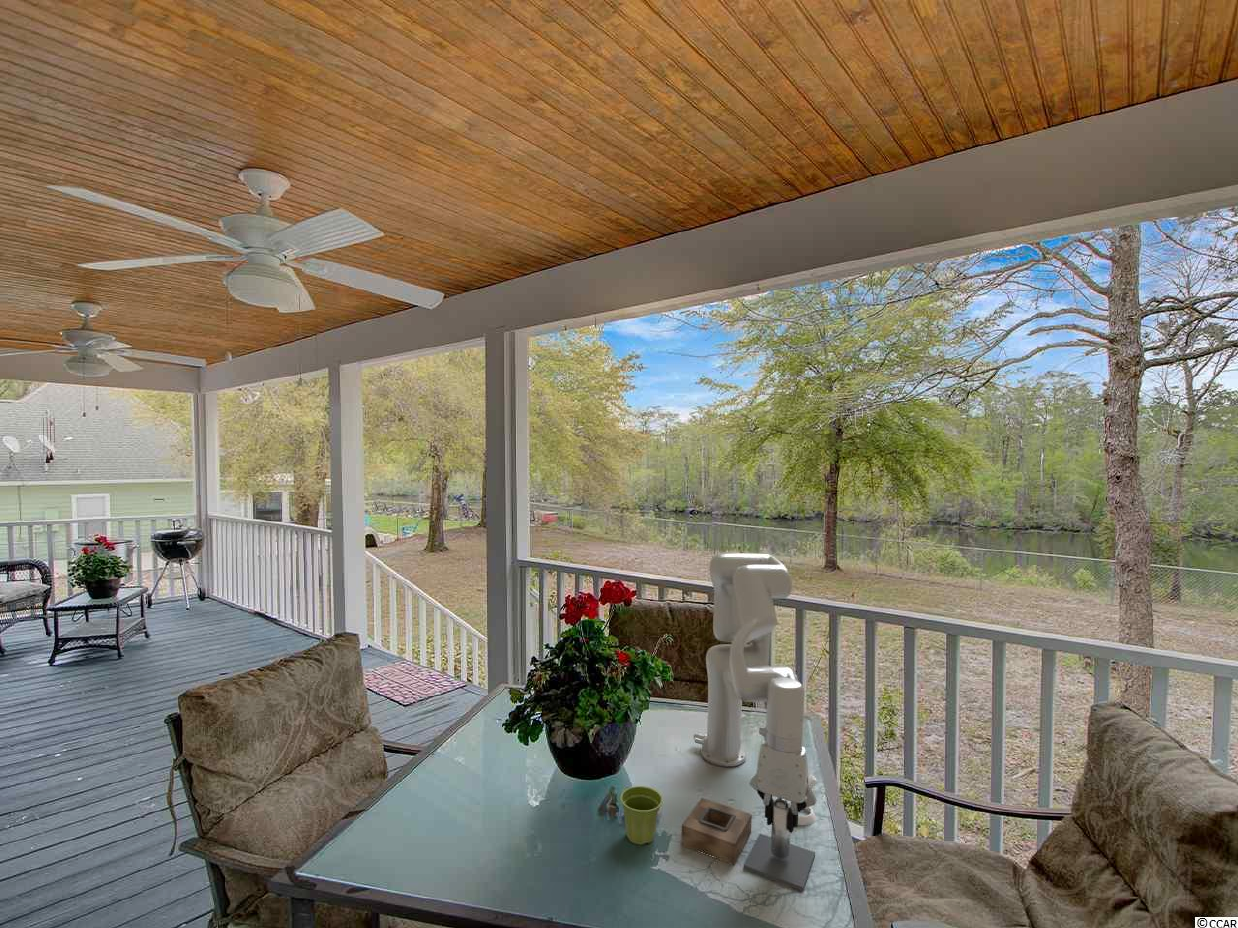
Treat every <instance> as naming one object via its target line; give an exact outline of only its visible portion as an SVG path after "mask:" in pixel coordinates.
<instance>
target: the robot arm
mask: <svg viewBox="0 0 1238 928" xmlns="http://www.w3.org/2000/svg"><path fill="white" fill-rule="evenodd" d="M708 570H709V576H710V577H709V578H710V580H711V583H712V586H713V587H712V588H713V593H714V594H713V595H714V596H713V597H714V599H713V602H714V603H713V616H712V617H713V618H712V619H713V621H712V629H713V635H714V637H715V638H716V639H717V640H718V641H720V642H723V643H729V644H715V645H713V646H711V647H710V648H708V650H707V651H706V655H705V665H706V672H707V684H708V685H707V686H708V687H707V688H708V689H707V692H708V694H707V726H706V733H704V734H703V733H701V732H696V731H695V732H694V733H693V740H694V743H696V744H700V745H701V749H700V754H701V757H702V758H703V759H704V760H705V761H706V762H708V763H710V764H712V765H716V766H720V767H730V768H731V767H737V766H739V765H741V764H743V763H744V762H745V761H746V759H747V757H746V755H747V754H746V751H745V749H743V748H742V747H741V743H742V742H741V741H742V738H741V737H742V736H741V735H742V711H743V710H742V707H743V702H748V703H751V702H752V703H759V702H761V703H763V702H764V703H766V711H765V713H766V717H765V718H766V719H765V721H766V722H765V727H759V730H758V734H759V735H761V736H763V737H764V739H763V740H762V741H761V744H760V747H759V751H758V752H759V753H758V758H757V767H756V773H755V774H754V776H753V777H752V778H751V779H750V781H749V786H750V787H751V788H752V789H753V790H754V791H755V792H757V795H758V796H759V797H760V799H761V800H762V801H763V805H764V818H766V825H767V826H772V803H773V801H775V800H774V798H773V797H775V798H781V799H785V800H787V802H791V811H790V813H789V830H788V831H789V832H790V834H793V832H794V829H795V828H796V829H797V828H798V826H799V824H798V816H799V813H800V812H803V811H804V810H806V809H805V808H806V807H812V806H815V805H816V803H817V797H816V796H815V793H814V792H813V790H812V789H811V788H810V786H809V784H808V777H809V767H808V766H809V765H808V764H809V763H808V755H807V751H806V748H805V746H803V742H804V741H803V739H804V717H805V716H804V712H805V688H804V685H803V683H801V682H800V681H799V679H798V678H799V677H798V675H797V674H796V673H795V671H794V670H793V669H792V668H791V667H789V666H785V665H769V663H770V662H769V661H770V646H771V631H774V629H775V628H776V627H777V624H778V618H777V614H776V613H777V612H776V609H775V606H774V601H773V599H785V598H789V596H791V594H792V591H793V581H792V580H793V579H792V576H791V574H790V572H789V570H788V568H787V567H786V566H785V565H784V564H783V563H782V562H781V561H780V560H779V559H777V558H776V557H775V556H773V555H772V554H768V553H745V552H744V553H743V552H729V553H728V552H726V553H725V552H723V553H718V554H715V555H713V556H712V558H711V559H710V562H709V569H708ZM748 643H750V644H748Z"/></svg>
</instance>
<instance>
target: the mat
mask: <svg viewBox="0 0 1238 928" xmlns="http://www.w3.org/2000/svg"><path fill="white" fill-rule="evenodd" d="M815 858H816V851H813V850H809V849H807V848H803V847H801V846H798V845H795V844H792V843H790V852H789V856H788V857H786V858H779V857H776V856H775V855H773V854H772V852H771V836H770V835H767V834H764V833H759V834H758V836H757V838H756V840H755V842H754V844H753V846H752V847H751V850H750V852H749V854H748V856H747V858H746V860H745V862H744V864H743V870H745V871H749V872H751V873H753V874H755V875H758V876H762V877H764V878H767V879H769V880H773V881H774V882H777V883H779V884H783V885H786V886H788V887H791V888H793V889H795V890H799V891H801V892H804V890H805V886H806V884H807V880H808V878H809V875H810V872H811V869H812V865H813V863H814V860H815Z"/></svg>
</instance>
